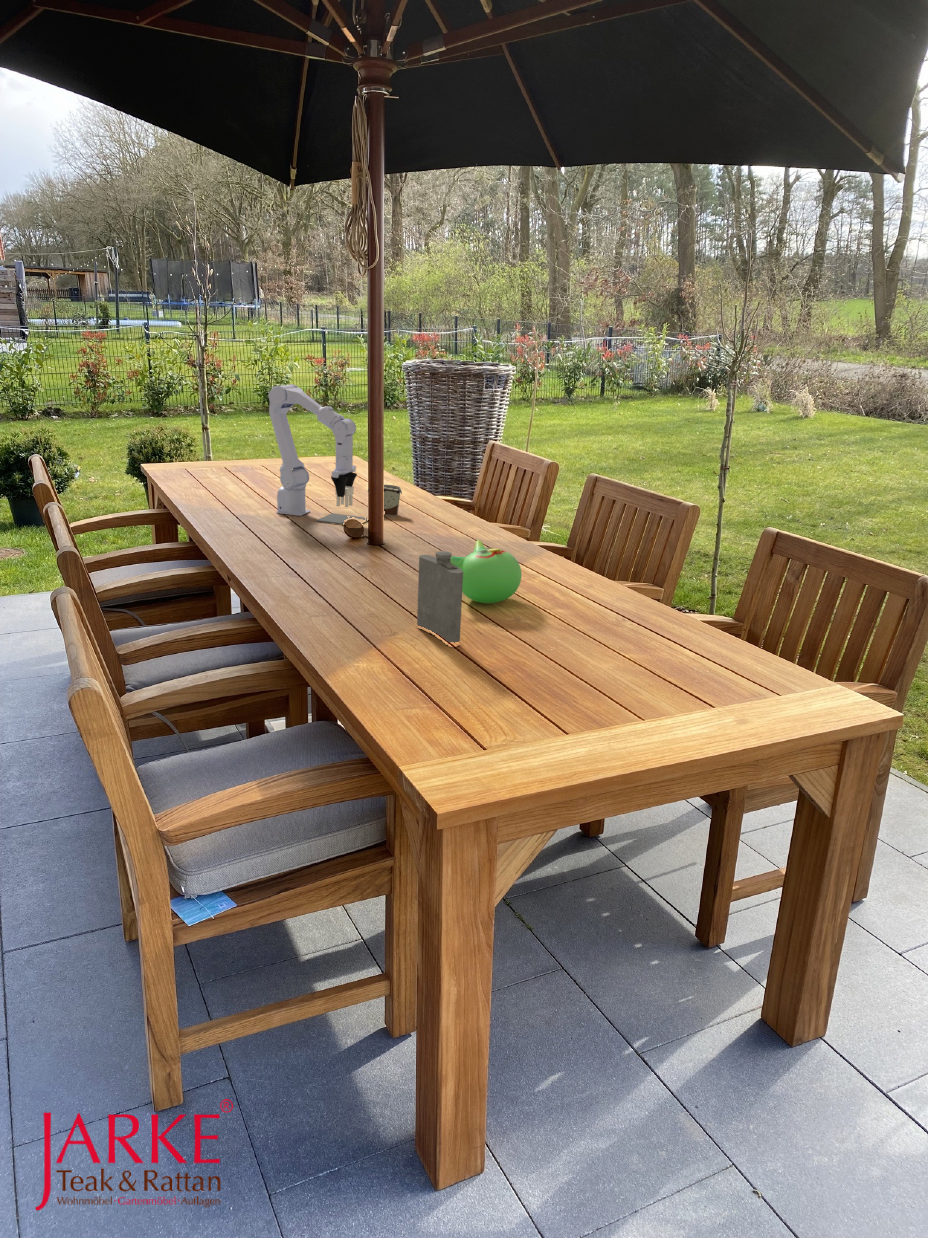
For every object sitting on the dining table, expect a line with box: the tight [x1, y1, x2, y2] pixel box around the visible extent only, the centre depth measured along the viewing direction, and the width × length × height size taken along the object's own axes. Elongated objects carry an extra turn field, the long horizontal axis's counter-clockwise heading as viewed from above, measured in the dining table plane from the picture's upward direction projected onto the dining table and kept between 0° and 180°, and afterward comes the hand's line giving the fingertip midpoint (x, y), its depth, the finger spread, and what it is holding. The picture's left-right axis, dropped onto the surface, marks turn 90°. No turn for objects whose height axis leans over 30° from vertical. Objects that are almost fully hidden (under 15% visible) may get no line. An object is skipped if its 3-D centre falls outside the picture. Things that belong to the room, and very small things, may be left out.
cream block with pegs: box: [334, 486, 355, 508], centre depth 307 cm, size 5×5×6 cm
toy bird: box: [450, 539, 522, 604], centre depth 231 cm, size 18×17×15 cm
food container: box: [367, 484, 403, 517], centre depth 322 cm, size 12×6×10 cm, turn 84°
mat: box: [315, 512, 368, 526], centre depth 310 cm, size 15×12×1 cm
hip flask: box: [416, 550, 463, 643], centre depth 204 cm, size 16×4×20 cm, turn 33°
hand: (344, 495), depth 307 cm, fingers closed on cream block with pegs, 5 cm apart
